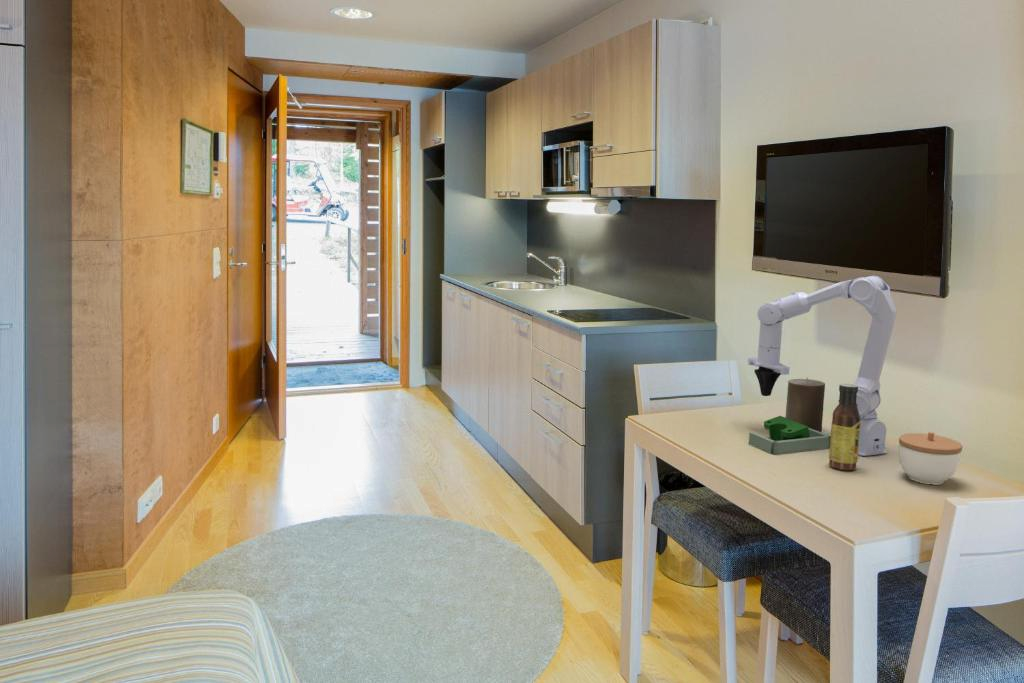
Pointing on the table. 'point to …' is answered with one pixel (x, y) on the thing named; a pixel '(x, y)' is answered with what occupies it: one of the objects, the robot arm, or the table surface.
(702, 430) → the table surface
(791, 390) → the pillar candle
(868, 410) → the robot arm
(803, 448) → the bracket
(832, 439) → the sauce bottle
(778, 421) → the clamp
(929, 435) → the lidded bowl
